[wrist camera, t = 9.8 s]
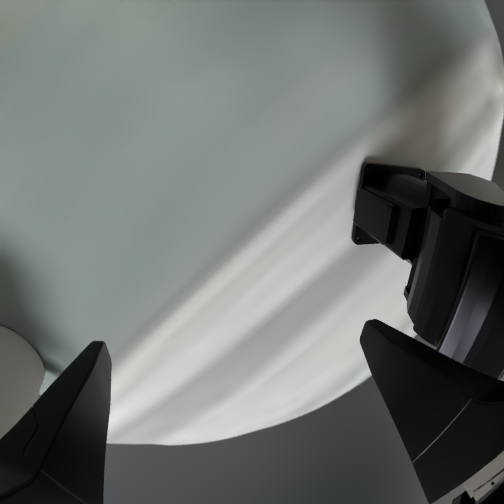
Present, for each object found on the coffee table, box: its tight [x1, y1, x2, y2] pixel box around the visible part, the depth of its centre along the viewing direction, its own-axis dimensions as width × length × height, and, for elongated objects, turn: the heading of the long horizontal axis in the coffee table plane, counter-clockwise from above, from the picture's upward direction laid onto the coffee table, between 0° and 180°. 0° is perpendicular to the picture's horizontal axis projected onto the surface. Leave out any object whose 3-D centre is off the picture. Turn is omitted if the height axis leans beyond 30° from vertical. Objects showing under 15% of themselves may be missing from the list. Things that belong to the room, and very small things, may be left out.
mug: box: [0, 326, 45, 439], centre depth 17 cm, size 12×8×11 cm
